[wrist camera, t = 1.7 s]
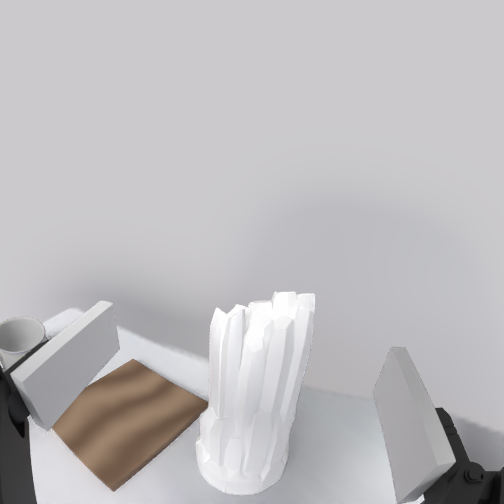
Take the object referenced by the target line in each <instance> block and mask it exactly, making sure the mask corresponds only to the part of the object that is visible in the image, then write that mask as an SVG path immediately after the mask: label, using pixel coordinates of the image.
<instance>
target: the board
mask: <svg viewBox="0 0 504 504" xmlns="http://www.w3.org/2000/svg"><path fill="white" fill-rule="evenodd" d="M207 408H208V402H206V401H205V400H203V399H201V398H199V397H197V396H195V395H193V394H191V393H189V392H188V391H186V390H184V389H182V388H180V387H179V386H177V385H175V384H173V383H172V382H170V381H168V380H167V379H165V378H163V377H161V376H160V375H158V374H157V373H155V372H153V371H152V370H150V369H148V368H147V367H145V366H144V365H142V364H141V363H139V362H137V361H136V360H134V359H132V360H130V361H129V362H127V363H125V364H124V365H122V366H120V367H119V368H117V369H116V370H114V371H112V372H111V373H109V374H107V375H106V376H104V377H102V378H101V379H99V380H97V381H96V382H94V383H92V384H90V385H89V386H87V387H85V389H84V390H83V391H82V392H81V393H80V394H79V395H78V397H77V398H76V399H75V400H74V401H73V402H72V404H71V405H70V406H69V407H68V408H67V409H66V411H65V412H64V413H63V414H62V415H61V416H60V418H59V419H58V420H57V421H56V422H55V424H54V425H53V426H52V429H53V430H54V431H55V432H56V433H57V435H58V436H59V437H60V438H61V439H62V441H63V442H64V443H65V444H66V445H67V446H68V447H69V449H70V450H71V451H72V452H73V453H74V454H75V455H76V456H77V457H78V458H79V459H80V460H81V461H82V463H83V464H84V465H85V466H86V467H87V468H88V469H89V470H90V471H91V472H92V473H93V474H95V475H96V476H97V477H98V478H99V479H100V480H101V481H102V482H103V483H104V484H105V485H106V486H107V487H109V488H110V489H111V490H112V491H113V492H114V491H115V490H116V489H118V488H119V487H120V486H121V485H123V484H124V483H125V482H126V481H127V480H129V479H130V478H131V477H132V476H134V475H135V474H136V473H137V472H138V471H140V470H141V469H142V468H143V467H144V466H145V465H147V464H148V463H149V462H150V461H151V460H152V459H153V458H155V457H156V456H157V455H158V454H159V453H160V452H161V451H163V450H164V449H165V448H166V447H167V446H168V445H169V444H170V443H171V442H173V441H174V440H175V439H176V438H177V437H178V436H179V435H180V434H181V433H182V432H183V431H184V430H185V429H187V428H188V427H189V426H190V425H191V424H192V423H193V422H194V421H195V420H196V419H197V418H198V417H199V416H200V414H201V413H203V412H204V411H205V410H206V409H207Z"/></svg>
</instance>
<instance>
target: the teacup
mask: <svg viewBox="0 0 504 504" xmlns="http://www.w3.org/2000/svg"><path fill="white" fill-rule="evenodd" d="M44 341H47V339H46V335H45V328H44V326H43V325H42V323H41V322H40V321H38V320H36V319H34V318H29V317H15V318H11V319H8V320H6V321H4V322H2V323H1V324H0V361H1V364H2V366H3V367H4V368H2V370H3V372H5V371H6V370H7V369H9V368H10V367H11V366H12V365H13V364H14V363H16V362H17V361H18V360H19V359H20V358H22V357H23V356H25V354H27V353H28V352H29V351H31V349H33V348H34V347H35V346H36V345H38V344H40V343H42V342H44Z"/></svg>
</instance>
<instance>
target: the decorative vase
mask: <svg viewBox="0 0 504 504" xmlns="http://www.w3.org/2000/svg"><path fill="white" fill-rule="evenodd" d="M314 311H315V294H306V293H305V294H299V295H297V294H296V292H295V291H294V292H279V293H278V292H276V291H275V292H274V294H273V297H272V299H271V301H270V300H267V301H266V300H265V301H264V300H263V301H254V302H250V304H249V306H248V308H247V307H245V306H242V305H237V304H236V305H235V307H234V308H233V309H232V310H231V311H230V312H229V313H228V314H226V313H224V312H223V311H222V310H220V309H219V308H216V310H215V313H214V315H213V318H212V322H211V325H210V358H209V405H208V408H207V409H206V410H205V411H204V412H203V413H201V414H200V432H201V433H200V434H199V436H198V439H197V441H196V456H197V464H198V469H199V471H200V473H201V474H202V476H203V477H204V479H205V480H206V481H207V482H208V483H209V484H211V485H212V486H214V487H216V488H217V489H219V490H220V491H222V492H224V493H226V492H227V494H233V495H253V494H257V493H261V492H262V491H264V490H266V489H267V488H269V487H270V486H272V485H273V484H275V483H276V482H277V481H279V479H280V478H281V476H282V473H283V471H284V468H285V466H286V463H287V459H288V454H289V434H290V431H291V428H292V425H293V421H294V418H295V415H296V404H297V400H298V397H299V393H300V389H301V386H302V382H303V378H304V375H305V371H306V367H307V363H308V359H309V355H310V351H311V347H312V343H313V332H314Z"/></svg>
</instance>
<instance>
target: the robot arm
mask: <svg viewBox="0 0 504 504" xmlns="http://www.w3.org/2000/svg"><path fill="white" fill-rule="evenodd" d="M119 349H120V346H119V340H118V334H117V327H116V320H115V313H114V305H113V303H109V302H105V301H100V302H98V303H97V304H96V305H95V306H93V307H92V308H91V309H89V310H88V311H87V312H85V313H84V314H83V315H81V316H80V317H79V318H78V319H76V320H75V321H74V322H72V323H71V324H70V325H69V326H67V327H66V328H65V329H64V330H62V331H61V332H60V333H59V334H57V335H56V336H55V337H54V338H52V339H51V340H50V341H49V340H47V341H44V342H42V343H40V344H38V345H36V346H35V347H34V348H33V349H31V351H29V352H28V353H27V354H25V356H23V357H22V358H20V359H19V360H18V361H17V362H16V363H14V364H13V365H12V366H11V367H10V368H9V369H7V370H6V371H5V372H3V370H2V368H1V366H0V504H37V501H36V496H35V490H34V483H33V476H32V467H31V456H30V441H29V422H28V419H27V417H28V416H29V415H31V416H32V418H33V420H34V422H35V423H36V424H37V425H39V426H40V427H42V428H43V429H45V430H46V431H49V430H50V428H51V427H52V426H53V425H54V424H55V422H56V421H57V420H58V419H59V418H60V416H61V415H62V414H63V413H64V412H65V411H66V409H67V408H68V407H69V406H70V405H71V404H72V402H73V401H74V400H75V399H76V398H77V397H78V395H79V394H80V393H81V392H82V391H83V390H84V389H85V387H86V386H87V385H88V384H89V383H90V382H91V381H92V379H93V378H94V377H95V376H96V375H97V374H98V373H99V372H100V370H101V369H102V368H103V367H104V366H105V365H106V364H107V363H108V361H109V360H110V359H111V358H112V357H113V356H114V355H115V354H116V353H117V351H118V350H119ZM373 395H374V399H375V403H376V406H377V410H378V414H379V418H380V422H381V426H382V431H383V435H384V439H385V444H386V448H387V453H388V458H389V462H390V467H391V472H392V478H393V483H394V489H395V494H396V500H397V504H401V503H407V502H412V501H415V500H417V499H418V498H419V497H420V496H421V495H422V494H424V499H425V500H424V501H423V502H422V503H421V504H504V467H503V468H502V469H501V470H500V471H485V470H484V469H483V468H482V466H481V465H479V464H477V463H474V462H470V461H469V459H468V456H467V454H466V451H465V449H464V447H463V444H462V442H461V439H460V437H459V435H458V434H457V430H456V428H455V427H454V424H453V421H452V419H451V417H450V415H449V414H448V413H447V412H446V411H445V410H444V409H443V408H434V406H433V403H432V401H431V399H430V397H429V395H428V393H427V390H426V388H425V386H424V384H423V382H422V380H421V378H420V376H419V374H418V372H417V370H416V368H415V366H414V364H413V362H412V360H411V358H410V356H409V354H408V352H407V350H406V348H402V347H391V348H390V351H389V353H388V356H387V358H386V361H385V364H384V366H383V368H382V371H381V373H380V375H379V378H378V380H377V382H376V385H375V387H374V389H373Z"/></svg>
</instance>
